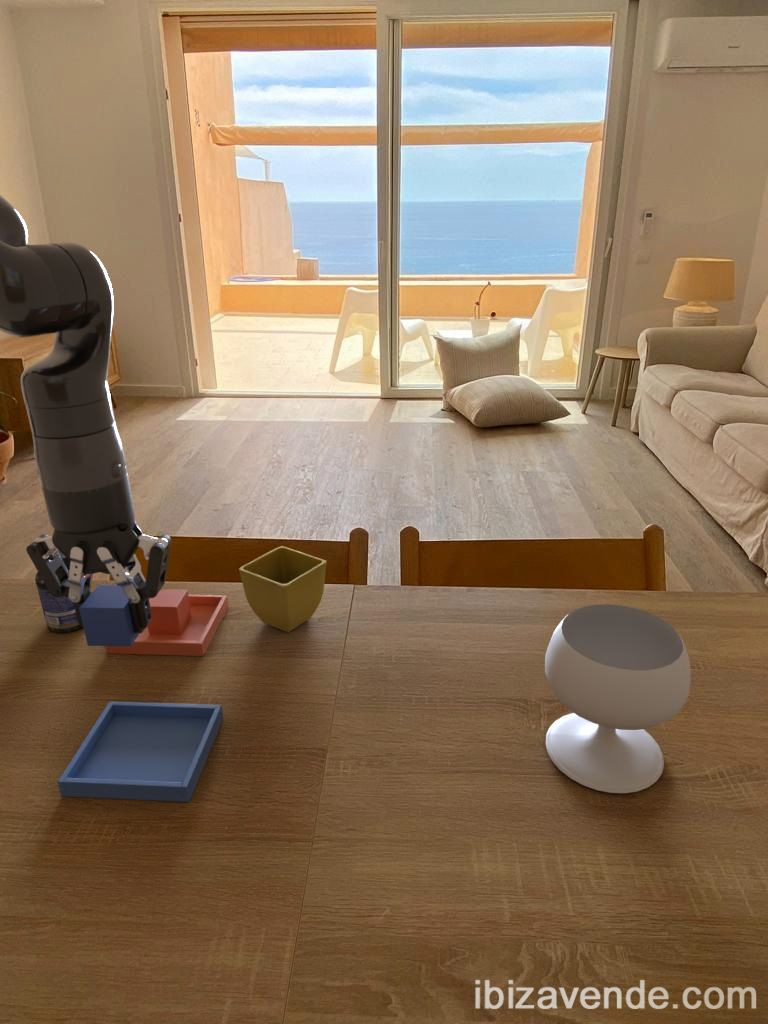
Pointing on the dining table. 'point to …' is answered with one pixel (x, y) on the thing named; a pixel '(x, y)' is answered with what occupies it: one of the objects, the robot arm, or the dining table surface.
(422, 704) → the dining table surface
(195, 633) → the terracotta tray
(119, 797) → the slate-blue tray
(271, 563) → the flower pot
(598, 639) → the chalice
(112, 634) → the slate-blue block
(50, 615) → the pill bottle
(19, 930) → the dining table surface
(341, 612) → the dining table surface
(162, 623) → the terracotta block
